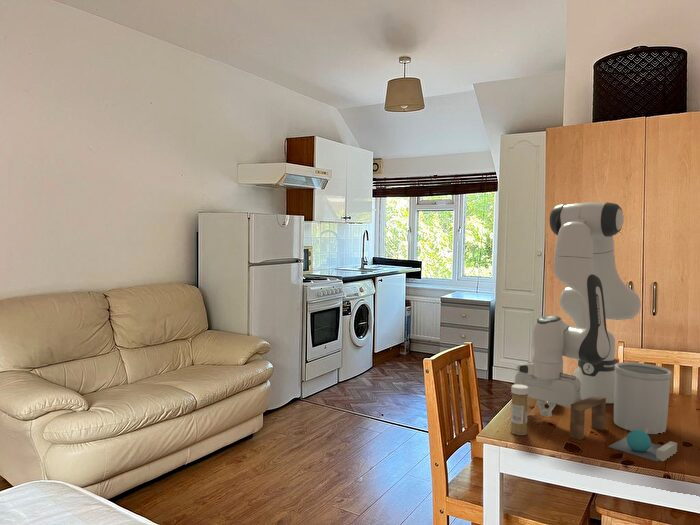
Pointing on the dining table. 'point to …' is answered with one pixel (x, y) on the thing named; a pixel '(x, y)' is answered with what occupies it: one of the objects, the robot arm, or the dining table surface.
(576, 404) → the bridge
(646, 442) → the ball
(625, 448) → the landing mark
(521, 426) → the sprinkles bottle
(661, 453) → the stopper wall
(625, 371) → the utensil holder
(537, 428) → the dining table surface
